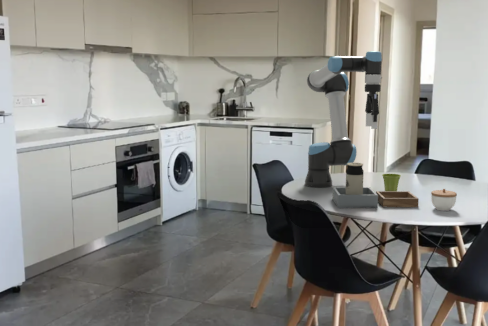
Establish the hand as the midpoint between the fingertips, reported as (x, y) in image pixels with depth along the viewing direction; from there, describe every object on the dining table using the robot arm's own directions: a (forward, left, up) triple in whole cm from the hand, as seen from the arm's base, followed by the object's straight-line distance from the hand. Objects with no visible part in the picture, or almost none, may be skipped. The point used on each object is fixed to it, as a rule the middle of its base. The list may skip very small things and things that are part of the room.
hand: (371, 127), depth 263 cm
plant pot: (-13, +14, -35) cm, 40 cm away
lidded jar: (+26, +28, -35) cm, 52 cm away
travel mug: (+15, -10, -34) cm, 38 cm away
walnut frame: (+14, +10, -35) cm, 39 cm away
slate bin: (+15, -10, -35) cm, 39 cm away
